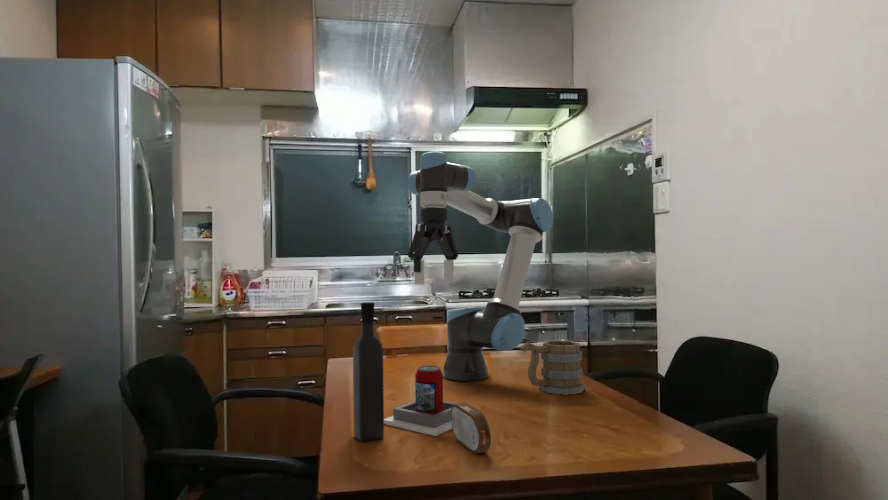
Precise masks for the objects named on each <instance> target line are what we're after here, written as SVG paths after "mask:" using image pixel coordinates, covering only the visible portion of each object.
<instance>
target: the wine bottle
mask: <svg viewBox="0 0 888 500" xmlns="http://www.w3.org/2000/svg"><path fill="white" fill-rule="evenodd" d="M360 313H361V335H360V336H359V337H357V339H355V342H354V345H353V349H352V350H353V351H352V366H353V367H352V370H353V373H352V374H353V377H352V383H353V384H352V386H353V387H352V388H353V394H352V395H353V399H352V400H353V436H354V437H355V438H356V439H357V440H358V441H360V442H362V443H365V442H371V441H376V440H377V441H378V440H382V439H384V437H385V426H384V425H385V424H384V419H385V416H384V411H385V410H384V408H385V407H384V405H385V403H384V348H383V345H382V344H383V343H382V342H381V341H380V339H379V338H378V337H377V336H376V334H375V302H370V301H369V302H368V301H367V302H360Z"/></svg>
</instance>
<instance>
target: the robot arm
mask: <svg viewBox="0 0 888 500" xmlns="http://www.w3.org/2000/svg"><path fill="white" fill-rule="evenodd" d="M419 159H420V160H419V161H420V162H419V170H416V171H413V172H411V173H410V174H409V175H408V176H407V181H406V183H407V185H406V186H407V188H408V190H409V192H410V193H411V194H413V195H415V196H416V195H417V196H420V197H419V199H420V200H419V201H420V203H419V205H420V207H421V209H420V222H422V223H416V224H415V230H414V235H413V237H412V241H411V244H410V247H409V251H408V254H407V256H408V258H409V259H410V261H413V272H414V285H417V286H418V285H422V286H423V285H425V260H424V259H423V257H424V256H425V254H426V252H427V249H428V248H429V246H430V243H431V242H435V243H437V244H438V247H439V249H440V250H441V252H442V254H443V256H444V258H445V259H443V282H444V283H454V260H455V261H456V260H457V258H458V257H459V253H458V250H457V247H456V242H455V239H454V236H453V232H452V231H453V230H452V225H445V223H446V222H447V221H448V209H447V208H446V207H447V206H449V207H452V208H453V209H456V210H458V211H460V212H462V213H465V214H466V215H469V216H470V217H473V218H475V219H476V220H477V222H478V223H479V224H481V225H484V226H485V227H488V228H490V229H492V230H495V231H498V232H502V233H505V234H509V236H510V239H509V242H508V247H507V249H506V253H505V256H504V260H503V263H502V267H501V270H500V274H499V277H498V281H497V284H496V288H495V291H494V294H493V297H492V300H490V301H488V302H487V303H486V306H485V309H484V310H483V308H482V306H469V307H461V308H452V309H450V310H449V311H448V313H447V321H446V325H447V354H446V355H447V356H446V358H445V362H444V366H443V368H442V374H443V378H445V379H447V380H452V381H458V382H459V381H462V382H463V381H464V382H465V381H466V382H467V381H469V382H471V381H480V380H484V379H486V378H488V377H489V368H488V366H487V363H486V360H485V358H484V357H485V356H484V353H483V349H484V348H487V349H492V350H497V351H511V350H515V348H517V347H519V345H520V344H521V342H522V341H523V338H524V335H525V331H526V327H525V325H526V323H525V320H524V317H523V316H522V311H521V309H520V307H519V306H520V302H521V298H522V295H523V291H524V287H525V283H526V279H527V276H528V272H529V270H530V265H531V261H532V259H533V256H534V255H533V254H534V250H535V246H536V244H538V243H539V242H540V241H542V238H543V234H544V233H547V232H550V231H551V230H552V228H553V225H554V214H553V211H552V207H551V205H550V203H549V202H548V201H547V200H546V199H544V198H542V197H540V198H539V197H537V198H535V197H531V198H525V199H515V200H495V199H493V198H490V197H488V198H485V197H484V196H481V195H479V194H477V193H475V192H473V191H472V189H473V188H474V186H475V184H476V183H477V175H476V174H477V173H476V172H475V170H474V169H473V168H472V167H471V166H468V165H465V164H458V163H452V162H448V158H447V154H446V153H444V152H442V151H427V152H424V153H422V154H421V155H420V158H419ZM422 259H423V260H422Z"/></svg>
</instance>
